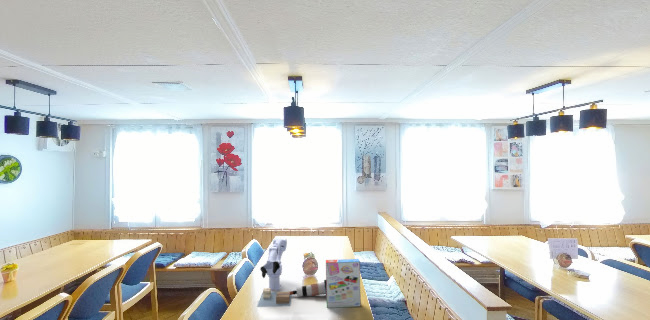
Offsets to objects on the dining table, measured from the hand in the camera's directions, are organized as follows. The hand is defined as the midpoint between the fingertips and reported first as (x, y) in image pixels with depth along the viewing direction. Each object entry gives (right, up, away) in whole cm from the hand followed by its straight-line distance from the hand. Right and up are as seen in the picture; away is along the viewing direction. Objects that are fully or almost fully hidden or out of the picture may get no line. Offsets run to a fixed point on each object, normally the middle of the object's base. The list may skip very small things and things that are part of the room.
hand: (268, 274), depth 206 cm
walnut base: (+10, -15, -2) cm, 18 cm away
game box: (+47, -16, -8) cm, 50 cm away
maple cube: (-2, -16, +5) cm, 17 cm away
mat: (+4, -16, +1) cm, 17 cm away
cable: (+29, -16, +6) cm, 34 cm away
